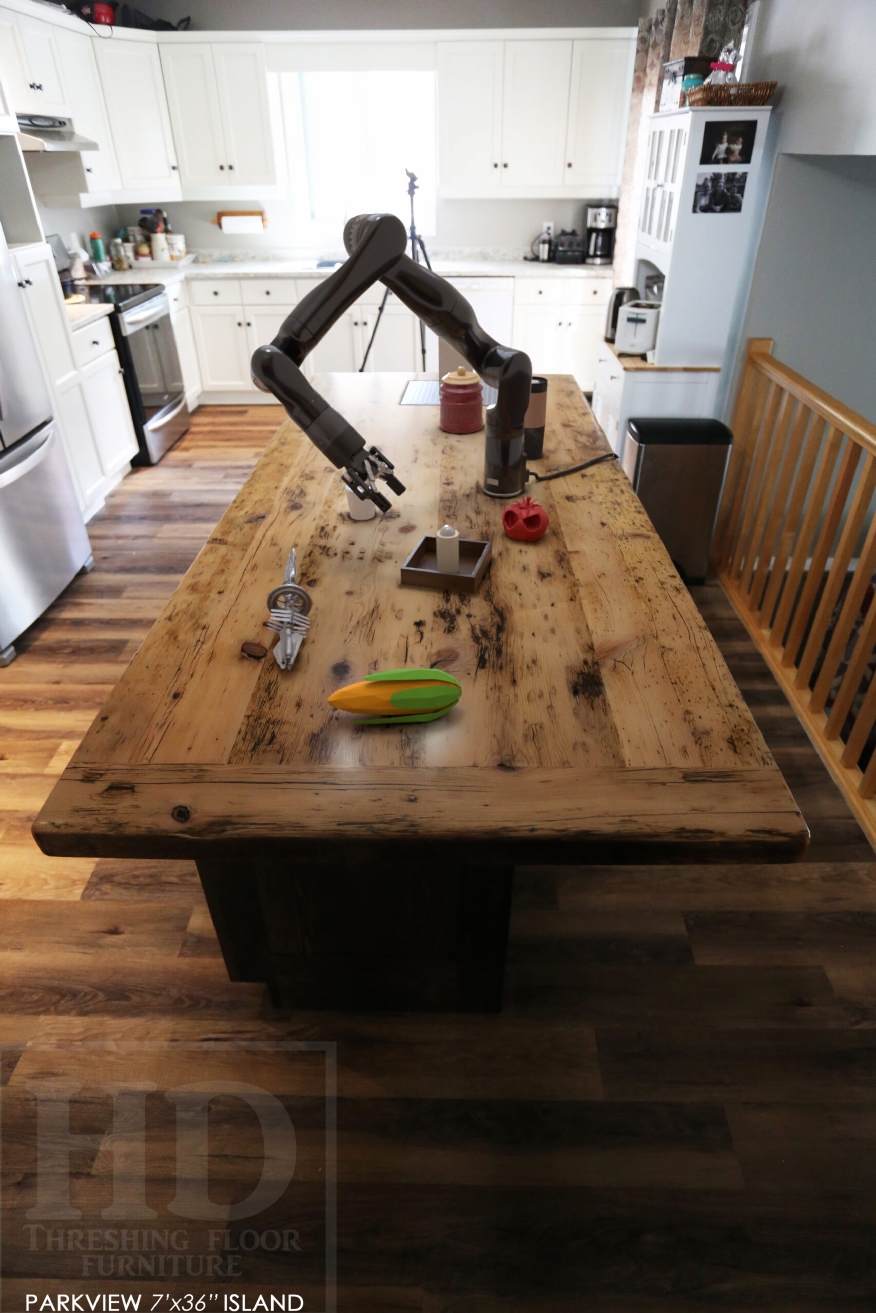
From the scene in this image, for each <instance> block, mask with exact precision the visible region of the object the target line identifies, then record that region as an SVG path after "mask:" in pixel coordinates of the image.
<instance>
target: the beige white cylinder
mask: <svg viewBox="0 0 876 1313" xmlns="http://www.w3.org/2000/svg"><path fill="white" fill-rule="evenodd" d="M369 488H370V487H369ZM358 489H359V487H358ZM370 489H371V488H370ZM359 491H360V492H361V493H363V491H362V490H360V489H359ZM345 494H346V499H347V500H346V501H347V505H348V506H347V507H348V511H349V517H350V518H351V519H353V520H355V521H366V520H370V519H373V518H374V517H375V514H376V505H375V504H374V503H373V502H372V501H371V500H368V499H365V500H364V501H362V500H360V499H359V498H358V496H357V495H356V494H355V493H354V492H353V491H352V490H351V489H350V488H349V487H348V486H347V485H345Z"/></svg>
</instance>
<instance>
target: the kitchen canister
mask: <svg viewBox="0 0 876 1313" xmlns="http://www.w3.org/2000/svg"><path fill="white" fill-rule="evenodd" d="M481 380H482V379H481V378H480V377H479V375H478V374H477V373H476V372H474V371H473V372H467V371H466V369H465V367H463V366H460V367H458V369H457V371H456V372H451V373H448V374H447V375H446V376H445V377H443V378H442V381H443V384H442V385H440V387H439V389H440V390H441V397H440V399H439V400H440V405H439V426H440V429H441V430H443V431H444V432H447V433H450V434H472V433H475V432H478V431H480V430H482V428H483V424H484V417H483V412H484V410H483V409H484V408H483V406H484V405H483V397H482V390H483V388H484V387H483V385H482V384H480V382H482V381H481Z"/></svg>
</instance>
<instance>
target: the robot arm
mask: <svg viewBox="0 0 876 1313" xmlns="http://www.w3.org/2000/svg"><path fill="white" fill-rule="evenodd" d="M342 241H343V246H344V249H345V252H346V254H347V255H348V258H347V260H346V261H344V263H343V264H342V265H341V266H339V268H338V269H337V270H336V271H334V272H333V273H332V274H330V275H329V276H328V277H327V278H325V279H324V280H322V282H320V283H318V284H317V285H316V286H315V287H314V288H312V289H311V290H310V291H309V292H307V294H305V296H303V297H302V298H301V299H300V301H299V302H298V303H297V304H296V305H295V307H293V309H292V310H291V311H290V313H288V315H287V316H286V317H285V319H284V320H283V321H282V323H281V324H280V327H279V329H278V331H277V334H276V335H275V337H274V338H273V339H272V340H271V342H270V343H269V344H264V345H261V346H259V347H257V348H256V349H255V350H254V352H253V353H252V355H251V358H250V378H251V382H252V384H253V385H254V386H255V387H256V389H258V390H259V391H260V392H262V393H266V394H270V395H271V394H272V395H273V396H274V397H275V398H276V400H278V401H279V403H280V404H281V405H282V406H283V409H284V411H285V413H286V415H287V416H288V417H289V418H290V419H291V421H293V423H294V424H295V425H296V426H297V427H298V428H299V429H300V430H301V431H302V432H303V433H304V434H305V435H306V437H307V438H308V439H309V441H310V443H312V444H313V445H314V446H315V447H316V449H318V451H319V452H320V453H321V454H322V455H323V456H324V457H325V458H327V460H328V461H329V462H330V463H331V464H332V465H333V466H334V468H336V469H337V470H341V469H343V468H344V469H345V470H346V471H344V473H343V474H342V475H341V476H340V479H341V481H343V483H344V484H345V485H346V486H348V487H349V488H350V489H351V490H352V491H353V492H354V493H355V494H356V495H357V496H358V498H359V499H360V500H362V501H364V500H365V499H368V500H371V501H372V502H373V503H374V504H375V507H377V508H378V510H380V511H381V512H382V513H383V514H386V513H387V512H388V511H389V510H391V508H392V507H393V504H392V503H391V502H390V501H389V500H388V498H386V496H385V495H383V493H382V492H381V491H380V490H378V488H377V484H376V483H375V482H376V480H381V481H382V482H385V484H386V486H387V487H389V489H390V490H392V492H393V493H394V494H395V495H396V496H398V497H400V496H402V495H403V494H404V493H405V491H406V490H407V487H406V486H405V485H404V484H403V483H402V482H401V481H400V479H398V478H397V476H396V475H395V471H394V469H395V468H396V467H395V465H394V464H393V463H392V461H390V460H389V459H388V458H387V457H386V456H385V455H384V454H383V453H382V452H381V451H380V450H379V449H378V448H377V447H376V446H374V445H372V446H371V447H370V448H369V449H368V450H366V448H364V447H365V446H366V444H367V440H366V439H365V438H364V437H363V436H362V435H361V434H360V433H359V432H358V430H356V428H355V427H354V426H353V425H352V424H351V423H350V422H349V421H348V420H347V419H346V418H345V417H344V416H343V415H342V414H341V413H340V412H339V411H337V409H335V407H333V406H332V405H331V404H330V403H329V402H328V401H327V400H326V398H324V396H322V395H321V393H319V391H317V390H316V388H314V387H313V386H312V384H311V383H310V382H309V381H308V378H306V376H305V375H304V373H303V372H302V371H301V369H300V367H301V366H302V365H303V363H304V362H305V360H306V358H307V357H308V356H309V355H310V354H311V353H312V352H313V350H315V348H316V347H317V346H318V345H319V344H320V342H321V341H322V340H323V339H324V337H325V336H326V335H327V334H328V333H329V331H331V329H332V328H333V327H334V325H335V324H336V323H337V322H338V321H339V319H341V318H342V316H343V315H344V314H345V313H346V312H347V311H348V310H349V308H351V307H352V305H354V304H355V302H356V301H357V300H358V299H360V297H362V296H363V295H364V294H365V293H366V292H367V291H368V290H369V289H370V288H371V287H373V285H374V284H376V283H377V281H378V282H379V283H381V284H382V285H383V286H385V287H386V288H387V289H388V290H389V291H391V293H393V294H394V295H395V297H396V298H398V299H399V300H400V302H401V303H402V304H404V305H405V307H407V308H408V309H409V310H410V311H411V313H413V314H414V315H415V316H416V317H417V318H418V319H419V320H420V321H421V322H422V323H423V324H424V325H425V326H426V327H428V329H429V330H430V331H431V332H432V333H434V335H436V336H437V337H439V338H441V339H442V340H443V341H444V342H445V343H446V344H448V345H449V346H450V347H451V348H452V349H454V350H455V351H456V352H458V353H459V354H460V355H461V356H462V357H463V358H464V359H465V360H466V361H467V362H468V363H469V364H470V366H471V367H472V368H473V371H474V373H475V374H476V375H477V376H479V377H480V378H481V380H482V382H485V383H486V384H487V385H489V386H490V387H492V388H495V389H498V395H497V403H496V404H494V405H488V406H487V408H486V409H485V416H484V418H485V420H484V421H485V423H484V467H483V487H482V488H483V489H482V490H483V493H484V494H486V495H487V496H490V497H493V498H501V499H502V498H503V499H504V498H512V497H516V496H518V495H520V494H522V493H525V491H526V484H527V483H529V482H530V476H533V477H534V478H535V480H536V481H546V480H551V479H554V478H557V477H560V476H563V475H567V474H570V473H574V472H576V471H579V470H581V469H584V468H586V467H588V466H590V465H592V464H594V463H596V462H599V461H602V460H605V459H607V458H611V457H612V458H614V459H620V456H619V455H618V454H616V453H615V452H609V453H606V454H604V455H601V456H598V457H595V458H593V459H590V460H588V461H586V462H584V463H582V464H579V465H577V466H573V467H572V468H568V469H565V470H561V471H557V472H555V473H552V474H549V475H546V476H539V474H538V472H535V471H530V469H529V468H528V467H527V460H526V457H527V455H526V453H524V452H523V449H524V429H525V415H526V412H527V410H528V407H529V403H530V393H531V384H532V376H533V363H532V359H531V357H530V356H529V355H528V354H527V353H526V352H524V351H522V350H520V349H517V348H512V347H511V346H506V345H504V344H502V343H500V342H498V341H497V340H496V339H494V338H493V337H492V336H491V335H490V334H488V333H487V332H486V331H485V330H484V329H483V327H482V326H481V325H480V323H479V320H478V316H477V315H476V312H475V310H474V308H473V306H472V304H471V303H470V302H469V300H468V299H467V298H466V297H465V296H464V295H463V294H462V293H461V292H460V291H459V290H458V289H457V288H456V287H455V286H454V285H453V284H452V283H451V282H449V281H448V280H447V279H445V278H444V277H443V276H441V275H439V274H438V273H436V272H434V271H432V270H431V269H430V268H427V267H426V266H424V265H423V264H420V263H419V262H417V261H416V260H415V259H413V258H411V257H410V256H409V255H408V254H407V253H406V250H407V246H408V232H407V229H406V226H405V225H404V223H403V222H402V220H401V219H400V218H399V217H398V216H397V215H395V214H392V213H390V212H384V211H373V212H372V211H371V212H370V211H369V212H362V213H357V214H355V215H353V216H352V217H350V218H349V219H348V220H347V222H346V223H345V225H344V227H343V232H342ZM613 455H614V456H613ZM358 487H359V489H360V490H362V491H363V493H361V492H360V491H359V489H358ZM369 487H370V488H371V489H370V488H369Z"/></svg>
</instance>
